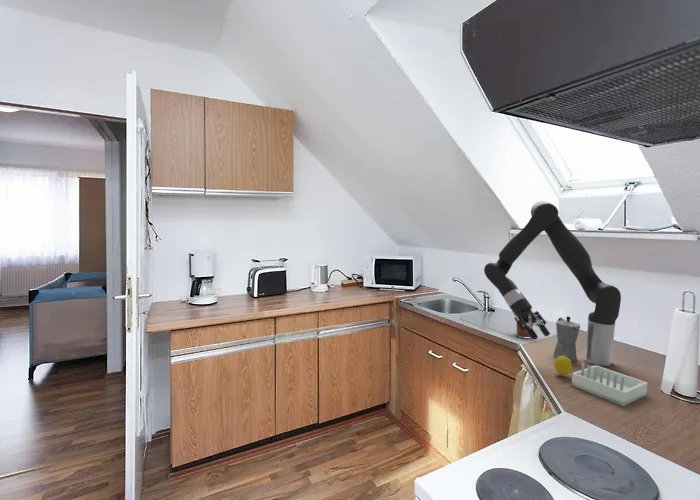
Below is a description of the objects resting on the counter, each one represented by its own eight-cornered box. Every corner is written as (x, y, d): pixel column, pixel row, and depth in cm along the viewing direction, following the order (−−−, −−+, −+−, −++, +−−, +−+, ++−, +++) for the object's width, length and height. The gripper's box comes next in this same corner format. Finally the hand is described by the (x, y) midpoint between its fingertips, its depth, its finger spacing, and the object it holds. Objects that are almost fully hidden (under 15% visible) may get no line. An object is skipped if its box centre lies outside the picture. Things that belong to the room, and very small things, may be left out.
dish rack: (594, 376, 134) (596, 355, 134) (646, 395, 121) (648, 372, 120) (571, 385, 126) (573, 363, 126) (623, 406, 113) (626, 381, 112)
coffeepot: (584, 364, 146) (588, 321, 144) (559, 362, 147) (563, 320, 146) (567, 350, 161) (570, 312, 159) (545, 349, 162) (548, 310, 161)
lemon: (561, 379, 131) (563, 358, 130) (550, 373, 136) (552, 353, 136) (574, 378, 132) (576, 358, 131) (562, 372, 137) (564, 352, 137)
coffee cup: (537, 338, 177) (539, 315, 176) (522, 339, 175) (524, 315, 174) (525, 333, 186) (526, 310, 184) (509, 333, 183) (511, 311, 182)
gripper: (513, 299, 143) (538, 335, 134) (533, 295, 150) (559, 329, 142) (500, 308, 148) (524, 344, 139) (521, 305, 155) (544, 338, 147)
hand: (541, 336), depth 140 cm, fingers open, 8 cm apart
